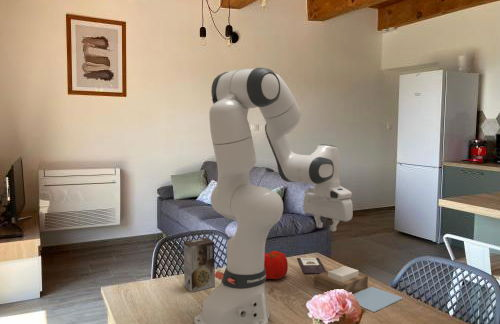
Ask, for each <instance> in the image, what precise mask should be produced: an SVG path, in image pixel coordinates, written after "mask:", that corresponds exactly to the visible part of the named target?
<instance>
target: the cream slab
mask: <svg viewBox="0 0 500 324" xmlns="http://www.w3.org/2000/svg"><path fill="white" fill-rule="evenodd" d="M339 267H340V268H338V267H337V269H335V268H333V269H334V270H332V269H330V270H331V271H329V270H327V271H328V277H329V278H332V279H334V280H337V281H340V282H344V281H347V280H349V279H352V278H355V277H358V276H359V273H360V272H359V270H358V269H356V268H352V267H349V266H346V265H343V266H339Z"/></svg>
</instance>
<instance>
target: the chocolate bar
mask: <svg viewBox="0 0 500 324" xmlns="http://www.w3.org/2000/svg"><path fill="white" fill-rule="evenodd" d="M296 260H297V262H298V264H299V267H300V268H301V269H300V270H301V271H302V274H303V275H304V276H305V275H317V274H320V273H323V272H326V271H327V270H326V268H325V266H324V264H323V263H322V261H321V259H320V258H319V257H296Z"/></svg>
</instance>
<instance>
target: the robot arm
mask: <svg viewBox="0 0 500 324" xmlns="http://www.w3.org/2000/svg"><path fill="white" fill-rule="evenodd" d="M211 84H212V85H211V91H210V92H211V101H212V105H211V107H210V108H209V115H208V116H209V128H210V137H211V141H212V145H213V146H212V147H213V150H214V156H215V161H216V167H217V183H216V185H215V187H214V188H213V190H212V193H211V195H210V204H211V208H212V209H213V210H214V211H215V212H216V213H218V214H219V215H221V216H223V217H224V218H227V219H230V220H233V221H236V222H237V227H236V231H235V234H234V235H233V236H231V237H230V238H229V239H228V240H227V243H226V267H225V269H224V271H223V272H221V271H220V270H217V271H215V279H218V280H221V282H220V283H219V284H218V285H217V286H216V288H215V289H213V291H211V293H210V294H209V295H208V296H207V297H206V298H204V300H203V304H202V309H201V313H198V314H197V315H195V316H194V317H193V318H194V319H193V322H194V323H193V324H269V319H270V317H271V315H270V314H271V313H270V310H269V306H268V302H267V296H266V287H265V286H266V285H265V282H266V280H267V279H266V269H265V267H264V256H265V253H266V251H265V250H266V241H267V238H268V235H269V233H270V231H271V229H272V227H273V226H275V225H276V224H277V223H278V222H279V221H280V220H281V219H282V216H283V213H284V202H283V199H282V197H281V196H280V194H278V192H276V191H274V190H271V189H269V188H267V187H264V186H259V185H254V184H251V182H250V172H251V170H252V169H253V168H254V167H255V165H256V163H257V156H256V152H255V147H254V141H253V136H252V132H251V131H252V130H251V127H250V123H249V119H248V113H249V109H255V108H259V110H260V113H261V114H262V116H263V119H264V122H265V125H264V132H265V136H266V138H267V141H268V143H269V146H270V148H271V151H272V154H273V156H274V159H275V162H276V165H277V172H278V174H279V176H280V178H281V179H282V181H285V182H288V183H301V184H311V185H314V187H308V188H306V189H305V190H304V196H303V203H302V210H303V212H304V213H306V214H310V215H313V218H314V220H315V224H316V225H315V226H316V228H319V229H321V228H323V227H324V226H323V225H324V223H323V222H322V221H321V217H323V218H328V219H332V221H331V222H333V223H332V225H329V231H331V232H336V231H337V226H338V224H339V223H340V221H342V222H349V221H351V220H352V219H353V211H354V210H353V208H354V207H353V201H352V199H351V198H352V195H353V193H352V191H350V190H349V189H347V188H345V187H343V186H342V185H341V181H340V172H341V155H340V149H339V147H337V146H335V145H332V144H318V145H317V146H316V149H315V150H314V152H312V153H311V154H298V153H296V152H294V151H292V150H291V148H290V145H289V143H288V140H287V137H286V135H288V134H290V133H291V132H292V131H294V130H295V129H296V127H297V126H298V125H299V123H300V121H301V117H302V116H301V114H302V113H301V110H300V106H299V104H298V102H297V99H296V98H295V96H294V94H293V92H292V91H291V89H290V88H289V87H288V84H287V83H286V82H285V81H284V79H283V77H281V76H280V75H279V74H277V73H275V71H273V70H272V69H270V68H267V67H255V68H238V69H235V70H231V71H224V72H222V73H220V74H218V75H217V76H216V77H215V78H214V79H213V81H212V83H211Z"/></svg>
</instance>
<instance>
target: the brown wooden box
mask: <svg viewBox="0 0 500 324" xmlns="http://www.w3.org/2000/svg"><path fill="white" fill-rule="evenodd" d="M340 267H341V266H339V267H337V268H340ZM337 268H333V269H330V270H326V272H323V273H320V274H313V275H314V276H313V287H314V288H315V289H316V288H317V289H319V290H321V291H324V292H326V291H330V290H334V289H344V290H346V291H348V292H352V294H355V293H357V292H360V291H362V290H365V289H367V288H369V286H368V283H369V282H368V281H369V279H368V278H369V276H368V275H366V274H363V273H360V272H359V276H358V277H355V278H352V279H349V280H347V281H344V282H340V281H337V280H334V279H332V278H329V277H328V271H331V270H334V269H337Z"/></svg>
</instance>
